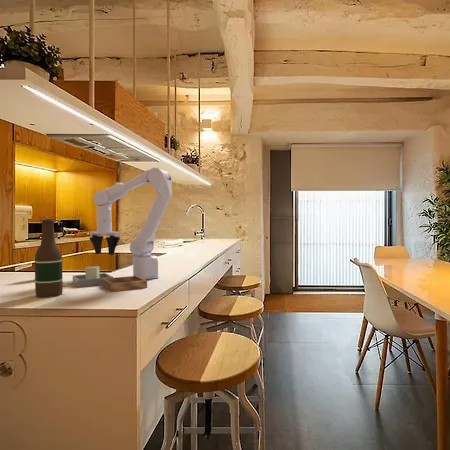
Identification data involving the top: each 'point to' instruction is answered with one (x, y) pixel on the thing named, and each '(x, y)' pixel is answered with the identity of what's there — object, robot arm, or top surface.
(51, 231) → the beer bottle
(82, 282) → the grey bin
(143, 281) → the walnut bin
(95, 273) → the sage block
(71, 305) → the top surface
